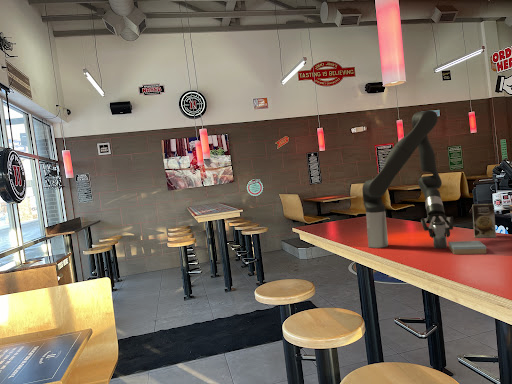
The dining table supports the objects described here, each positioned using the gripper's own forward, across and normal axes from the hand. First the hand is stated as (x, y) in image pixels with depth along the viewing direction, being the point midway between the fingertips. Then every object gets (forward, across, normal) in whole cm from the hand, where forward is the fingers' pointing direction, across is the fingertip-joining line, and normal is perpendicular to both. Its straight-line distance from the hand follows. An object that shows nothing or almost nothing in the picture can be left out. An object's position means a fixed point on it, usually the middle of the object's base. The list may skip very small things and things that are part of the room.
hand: (440, 236), depth 170 cm
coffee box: (-14, +23, +21) cm, 34 cm away
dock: (+9, +9, -1) cm, 13 cm away
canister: (+3, 0, +5) cm, 6 cm away
